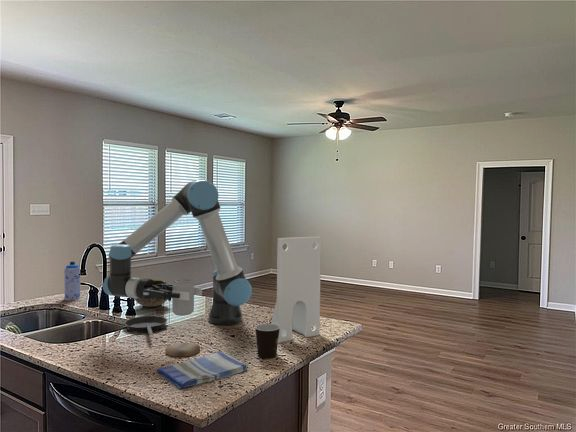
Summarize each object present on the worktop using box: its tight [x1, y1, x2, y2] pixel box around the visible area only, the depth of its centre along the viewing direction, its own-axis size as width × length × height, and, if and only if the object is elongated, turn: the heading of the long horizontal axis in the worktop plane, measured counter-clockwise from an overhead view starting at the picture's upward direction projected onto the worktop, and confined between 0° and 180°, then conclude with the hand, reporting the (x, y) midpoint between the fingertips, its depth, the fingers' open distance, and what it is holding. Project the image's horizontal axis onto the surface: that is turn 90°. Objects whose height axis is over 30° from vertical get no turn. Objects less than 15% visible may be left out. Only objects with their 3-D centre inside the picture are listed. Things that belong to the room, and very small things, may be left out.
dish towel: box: [156, 351, 249, 390], centre depth 133 cm, size 17×24×3 cm
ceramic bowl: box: [134, 279, 168, 311], centre depth 211 cm, size 24×18×15 cm
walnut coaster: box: [165, 342, 201, 358], centre depth 151 cm, size 12×12×1 cm
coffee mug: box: [254, 323, 280, 360], centre depth 149 cm, size 12×9×10 cm
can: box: [171, 278, 195, 317], centre depth 150 cm, size 8×8×12 cm
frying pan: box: [123, 315, 169, 336], centre depth 172 cm, size 18×32×4 cm, turn 23°
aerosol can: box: [64, 261, 82, 302], centre depth 227 cm, size 8×8×20 cm
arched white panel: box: [270, 236, 322, 344], centre depth 172 cm, size 20×14×40 cm
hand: (195, 293), depth 149 cm, fingers closed on can, 7 cm apart
